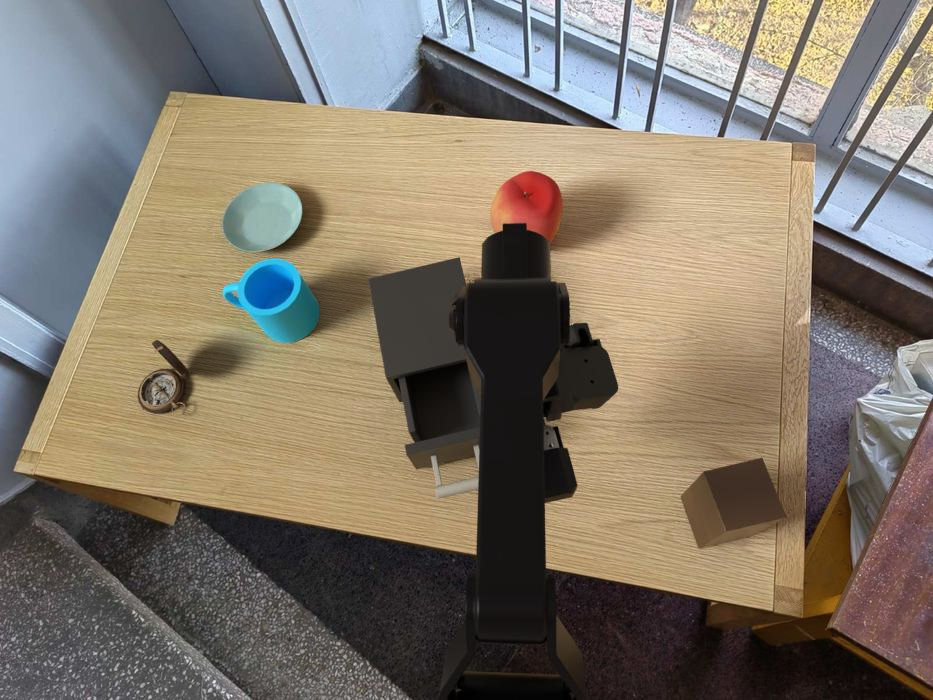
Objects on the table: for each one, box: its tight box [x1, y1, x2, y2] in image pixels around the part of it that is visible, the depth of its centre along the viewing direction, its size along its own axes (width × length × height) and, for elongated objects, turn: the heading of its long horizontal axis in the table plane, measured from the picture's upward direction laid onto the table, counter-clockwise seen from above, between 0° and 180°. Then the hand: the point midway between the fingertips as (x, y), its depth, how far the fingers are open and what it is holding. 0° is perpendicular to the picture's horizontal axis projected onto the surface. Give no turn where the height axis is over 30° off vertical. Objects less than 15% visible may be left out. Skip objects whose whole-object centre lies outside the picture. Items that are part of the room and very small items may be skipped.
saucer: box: [221, 182, 303, 253], centre depth 98 cm, size 12×12×2 cm
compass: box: [137, 339, 191, 417], centre depth 86 cm, size 8×8×7 cm
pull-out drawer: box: [399, 362, 481, 500], centre depth 80 cm, size 17×10×7 cm, turn 12°
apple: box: [489, 170, 564, 244], centre depth 90 cm, size 10×10×10 cm
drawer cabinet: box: [367, 256, 467, 403], centre depth 85 cm, size 14×12×9 cm
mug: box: [222, 258, 321, 344], centre depth 89 cm, size 12×8×8 cm
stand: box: [680, 457, 787, 549], centre depth 72 cm, size 6×6×12 cm
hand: (520, 427), depth 70 cm, fingers closed on block, 4 cm apart
